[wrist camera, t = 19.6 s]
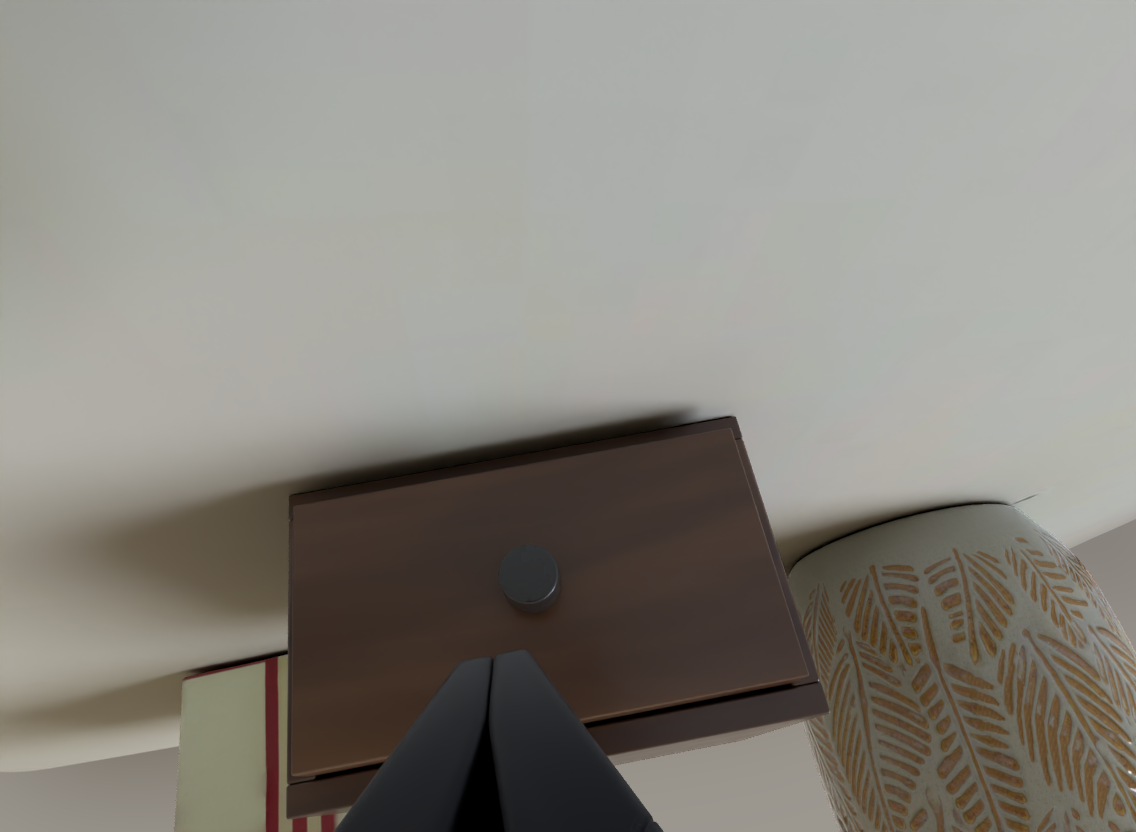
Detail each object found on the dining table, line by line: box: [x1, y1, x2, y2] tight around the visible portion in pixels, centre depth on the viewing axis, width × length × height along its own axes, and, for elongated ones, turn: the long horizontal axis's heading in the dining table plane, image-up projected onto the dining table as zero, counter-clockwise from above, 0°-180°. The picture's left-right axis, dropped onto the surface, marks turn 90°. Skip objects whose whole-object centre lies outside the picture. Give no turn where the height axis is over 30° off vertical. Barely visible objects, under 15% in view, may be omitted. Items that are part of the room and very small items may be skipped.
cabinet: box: [286, 417, 830, 819], centre depth 27 cm, size 14×15×9 cm
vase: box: [788, 504, 1136, 832], centre depth 37 cm, size 17×17×27 cm
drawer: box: [291, 428, 809, 777], centre depth 25 cm, size 14×13×7 cm
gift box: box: [174, 654, 347, 832], centre depth 42 cm, size 17×18×17 cm
